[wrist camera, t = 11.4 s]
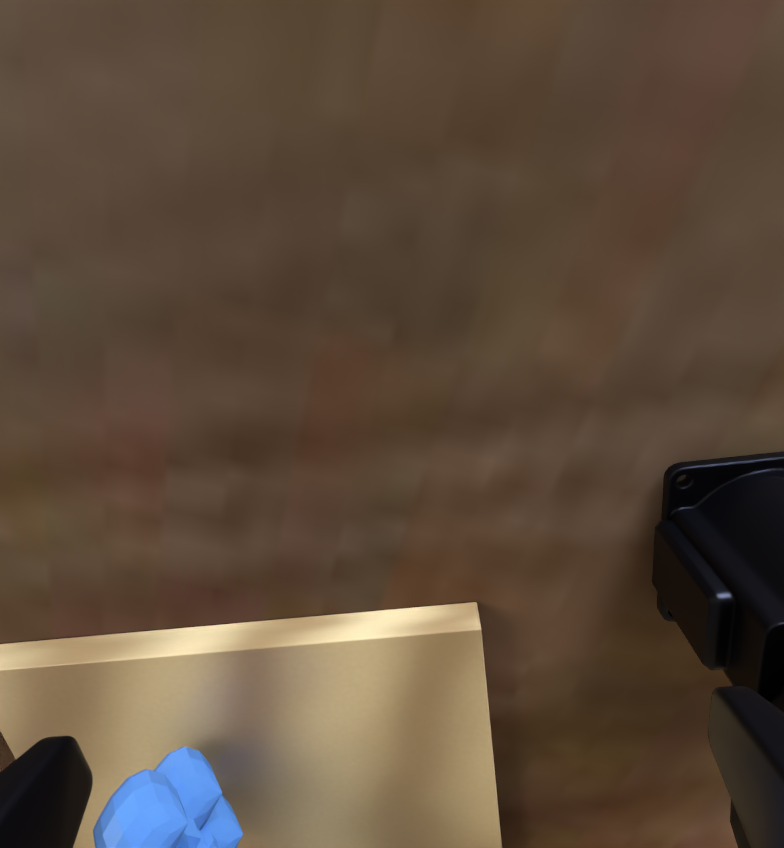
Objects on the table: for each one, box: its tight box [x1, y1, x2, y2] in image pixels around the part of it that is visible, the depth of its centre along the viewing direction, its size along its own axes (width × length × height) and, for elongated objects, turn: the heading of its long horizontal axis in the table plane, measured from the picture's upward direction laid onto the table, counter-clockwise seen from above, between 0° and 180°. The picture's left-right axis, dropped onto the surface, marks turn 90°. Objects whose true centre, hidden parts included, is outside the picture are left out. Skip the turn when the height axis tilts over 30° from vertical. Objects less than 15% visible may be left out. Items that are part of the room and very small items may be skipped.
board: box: [0, 602, 502, 848], centre depth 25 cm, size 20×16×2 cm
